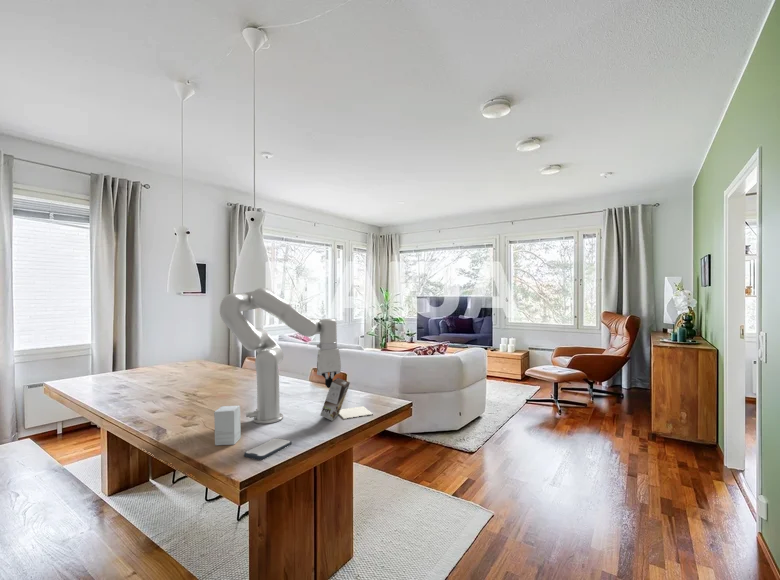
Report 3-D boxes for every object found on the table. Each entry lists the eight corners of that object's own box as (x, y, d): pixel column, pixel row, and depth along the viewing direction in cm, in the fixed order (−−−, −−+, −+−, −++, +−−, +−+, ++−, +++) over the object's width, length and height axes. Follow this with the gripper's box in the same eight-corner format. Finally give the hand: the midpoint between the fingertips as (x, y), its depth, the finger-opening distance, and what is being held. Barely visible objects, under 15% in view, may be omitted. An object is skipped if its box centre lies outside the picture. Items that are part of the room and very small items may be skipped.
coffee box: (332, 421, 165) (344, 387, 164) (319, 415, 166) (331, 381, 165) (339, 414, 174) (350, 382, 173) (326, 409, 175) (338, 377, 174)
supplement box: (241, 437, 147) (241, 405, 147) (234, 445, 140) (234, 410, 140) (222, 438, 147) (221, 405, 147) (214, 445, 140) (213, 411, 140)
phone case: (274, 441, 144) (242, 457, 130) (274, 437, 144) (242, 452, 130) (293, 445, 141) (262, 461, 126) (293, 440, 141) (262, 457, 126)
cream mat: (343, 419, 167) (343, 418, 167) (335, 411, 179) (335, 410, 179) (373, 415, 173) (373, 413, 173) (363, 407, 184) (363, 406, 184)
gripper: (313, 348, 164) (314, 391, 163) (346, 346, 170) (347, 387, 170) (310, 346, 171) (310, 387, 170) (341, 344, 177) (342, 383, 176)
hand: (329, 387), depth 170 cm, fingers closed
